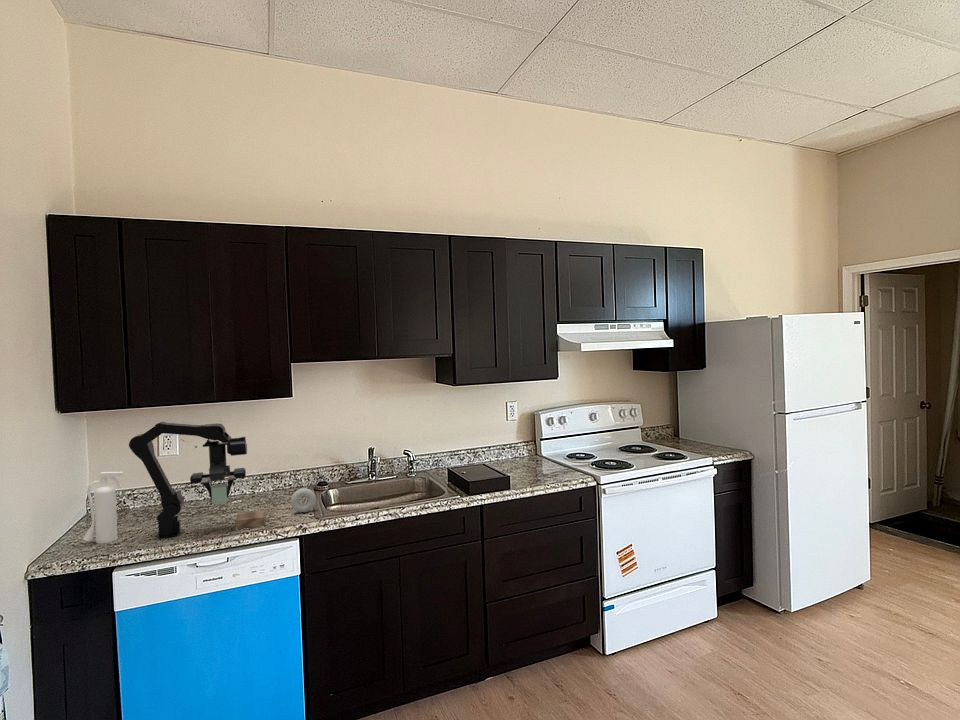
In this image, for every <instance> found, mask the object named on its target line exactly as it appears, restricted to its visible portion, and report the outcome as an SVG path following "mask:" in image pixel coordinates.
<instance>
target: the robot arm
mask: <svg viewBox="0 0 960 720" xmlns="http://www.w3.org/2000/svg"><path fill="white" fill-rule="evenodd" d="M162 434H167V435H180V436H195V437H199V438H202V439H206V442H205V443H204V444H203V445H202V447H203V448H208V457H209V468H208V471H209V472H208V473H205V474H204V472H203V471H202V472H201V471H200V472H194V473H192V474H191V475H190V476H189V477H190V478H189V481H190V484H193V485H194V484H199V483H200V485H201V486H202V485H203V487H205V488H206V491H207V493H208V495H209V497H210V499H211V500H212V492H211V487H212V483H211V482H214V481H215V482H216V481H223V480H225V478H227V497H228V498H229V495H230V491H231V488H232V485H233V483H234V481H237V479H241V478H246V477H247V472H246V471H247V469H246V468H245V467H238V468H234V469H233V471H232V470H231V466H230V465H231V464H230V465H227V454H228V455H230V457H232V456H233V457H234V456H242V455H243V456H245V455H247V454H248V444H247V438H246V436H240V437H233V438H232V437H231V436H230V435H229V433H227V431H226V428H225V425H223V424H222V423H207V424H190V423H189V424H188V423H187V424H186V423H175V422H165V421H160V422H158V423H156V424H155V425H154V426H152V428H150V429H149V430H147V431H146V432H144V433H140V434H138V435H135V436H133V437H132V438H131V439H130V440H129V442H128V448H129V449H130V450H131V452H132V453H133V454H134V455H135V457H137V458H139V460H141V462H142V464H143V465H144V468H145V470H146V471H147V473H148V475H149V476H150V478H151V481H152V482H153V484H154V487H155V488H156V490H157V491H158V494H159V496H160V503H161V508H162V510H161V512H160V513H159V514H158V515H157V516H156V520H157V529H158V536H157V539H165V538H171V537H177V536H178V537H179V535H180V533H181V531H182V529H181V528H182V525H181V519H179V518H180V517H179V515H178V514H179V513H180V512H181V511H182V510H183V508H184V507H185V500H186V498H185V496H183V493H182V491H181V489H178V490H176V489H174V488H173V486H172V485H171V483H170V481H169V480H168V477H167V476H166V473H165V472H164V470H163V468H162V466H161V464H160V462H159V461H158V458H157V456H156V454H155V446H154V443H153V441H154V440H155V439H156V438H158V437H159V436H161V435H162Z"/></svg>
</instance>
